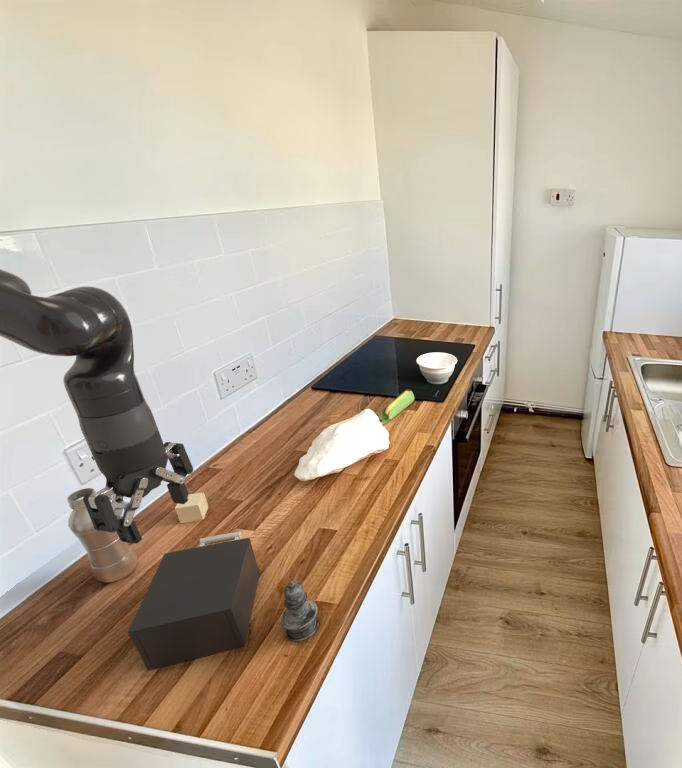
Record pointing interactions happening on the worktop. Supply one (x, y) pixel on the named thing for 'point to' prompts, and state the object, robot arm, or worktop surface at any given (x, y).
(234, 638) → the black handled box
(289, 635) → the grey tiered figure
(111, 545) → the silver metal bottle
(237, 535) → the drawer
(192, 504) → the block
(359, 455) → the crumpled cloth
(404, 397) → the edible corn
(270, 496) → the worktop surface
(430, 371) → the bowl
